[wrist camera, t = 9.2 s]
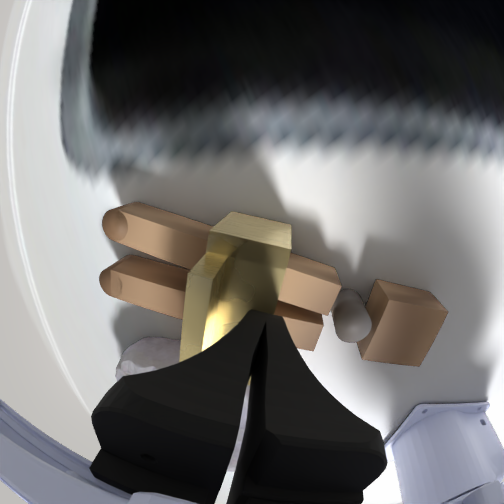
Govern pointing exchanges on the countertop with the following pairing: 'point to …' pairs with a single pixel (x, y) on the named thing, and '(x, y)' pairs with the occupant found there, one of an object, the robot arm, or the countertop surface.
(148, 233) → the tong arm
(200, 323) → the yellow block
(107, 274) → the tongs fixed
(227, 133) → the countertop surface
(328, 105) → the countertop surface
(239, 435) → the stone block
